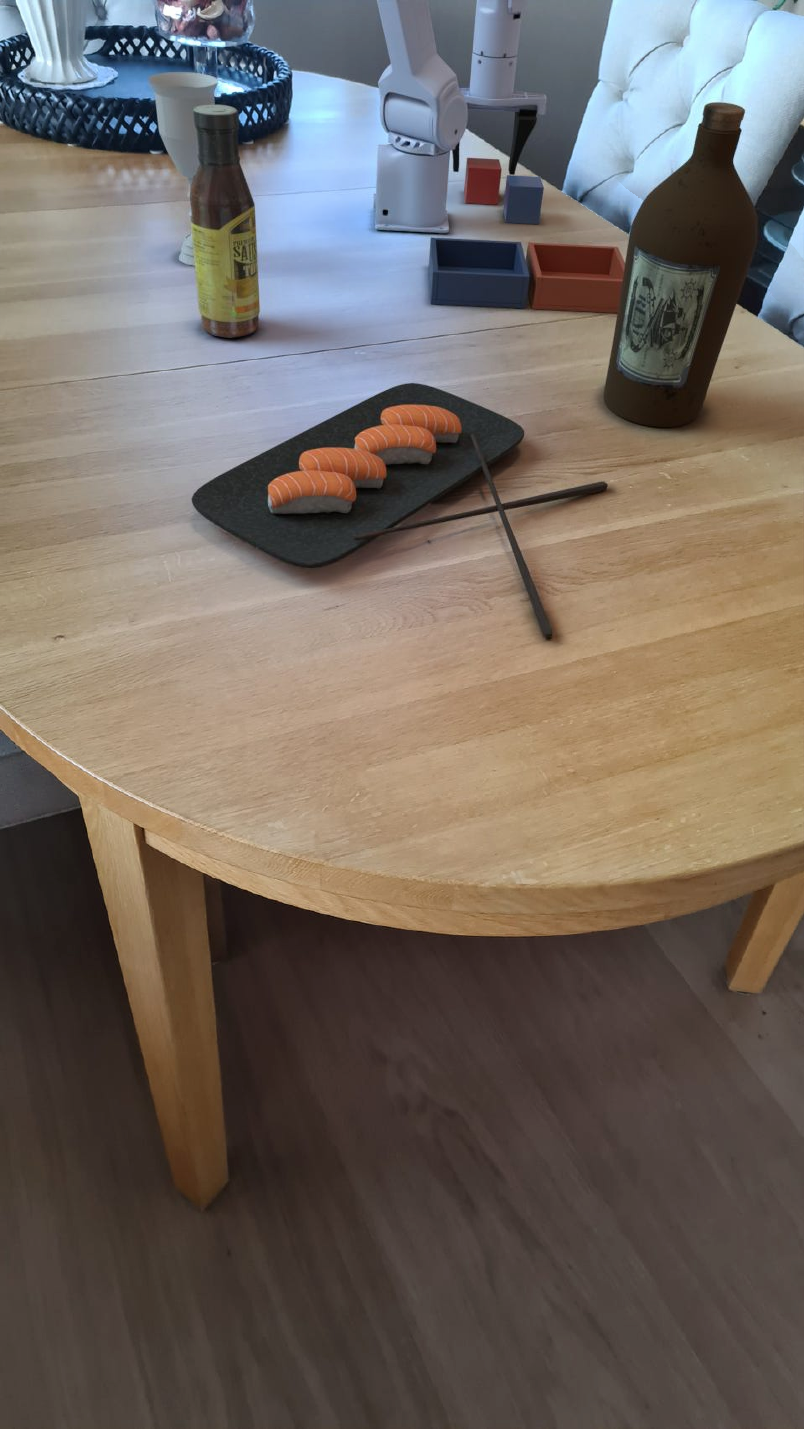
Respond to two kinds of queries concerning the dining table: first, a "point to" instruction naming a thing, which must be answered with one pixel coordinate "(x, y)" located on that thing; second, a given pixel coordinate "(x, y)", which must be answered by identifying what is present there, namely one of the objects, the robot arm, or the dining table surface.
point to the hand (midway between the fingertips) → (483, 171)
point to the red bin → (574, 277)
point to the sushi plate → (369, 479)
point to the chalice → (182, 125)
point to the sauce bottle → (223, 228)
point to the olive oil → (682, 280)
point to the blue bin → (478, 273)
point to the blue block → (523, 199)
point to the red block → (482, 181)
